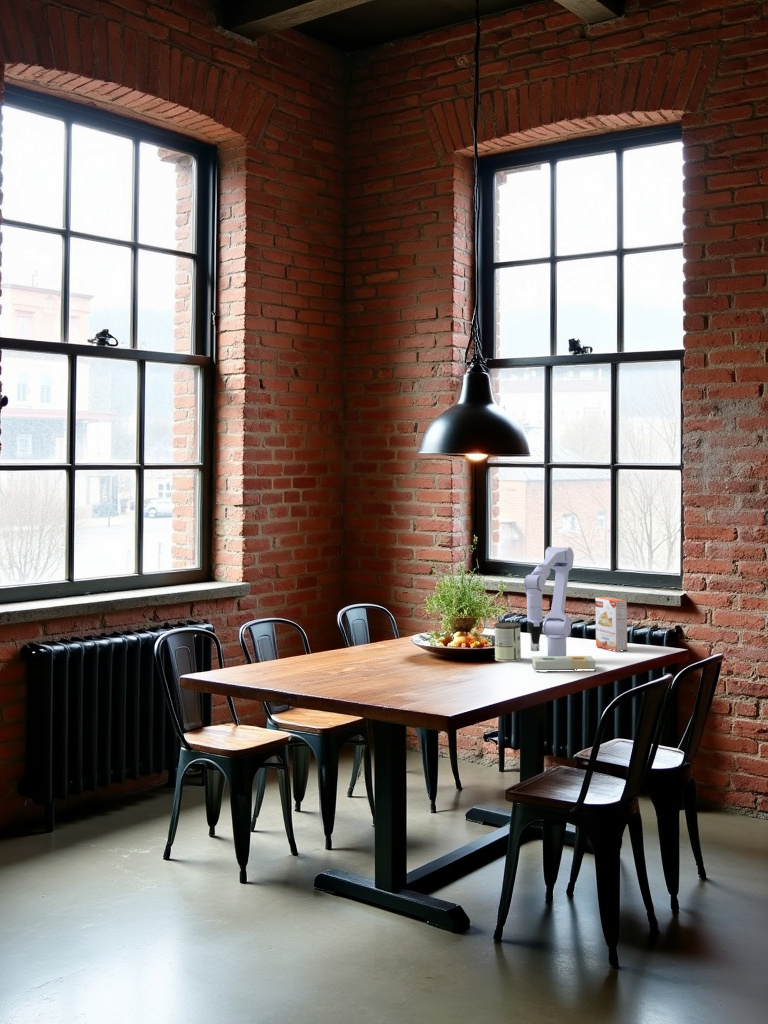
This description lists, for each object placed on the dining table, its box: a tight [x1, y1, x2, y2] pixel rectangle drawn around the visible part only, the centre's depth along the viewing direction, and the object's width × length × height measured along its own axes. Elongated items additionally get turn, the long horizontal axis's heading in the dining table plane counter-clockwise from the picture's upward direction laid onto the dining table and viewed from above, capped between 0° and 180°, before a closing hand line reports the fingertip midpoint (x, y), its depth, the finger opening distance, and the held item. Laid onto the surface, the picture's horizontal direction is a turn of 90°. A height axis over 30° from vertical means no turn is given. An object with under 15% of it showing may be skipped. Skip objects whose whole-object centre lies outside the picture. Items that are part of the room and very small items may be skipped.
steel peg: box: [530, 636, 540, 652], centre depth 406 cm, size 3×3×8 cm
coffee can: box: [493, 621, 522, 663], centre depth 426 cm, size 10×10×14 cm
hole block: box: [532, 655, 596, 671], centre depth 405 cm, size 10×22×4 cm, turn 88°
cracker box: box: [595, 596, 628, 652], centre depth 445 cm, size 14×6×21 cm, turn 25°
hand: (535, 642), depth 406 cm, fingers closed on steel peg, 3 cm apart
